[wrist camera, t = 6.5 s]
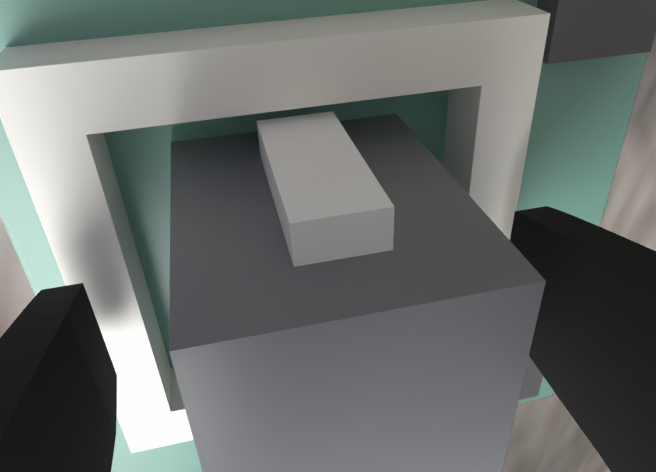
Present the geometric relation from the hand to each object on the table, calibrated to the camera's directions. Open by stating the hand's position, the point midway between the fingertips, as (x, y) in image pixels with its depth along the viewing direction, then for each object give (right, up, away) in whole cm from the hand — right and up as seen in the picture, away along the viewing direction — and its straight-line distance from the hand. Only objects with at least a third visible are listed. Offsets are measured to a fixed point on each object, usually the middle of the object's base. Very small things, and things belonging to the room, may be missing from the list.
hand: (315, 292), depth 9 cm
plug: (0, +1, +1) cm, 2 cm away
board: (0, +1, +3) cm, 3 cm away
